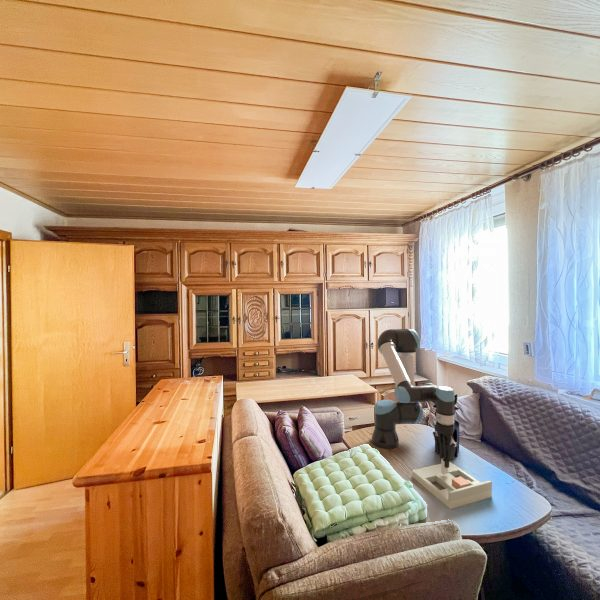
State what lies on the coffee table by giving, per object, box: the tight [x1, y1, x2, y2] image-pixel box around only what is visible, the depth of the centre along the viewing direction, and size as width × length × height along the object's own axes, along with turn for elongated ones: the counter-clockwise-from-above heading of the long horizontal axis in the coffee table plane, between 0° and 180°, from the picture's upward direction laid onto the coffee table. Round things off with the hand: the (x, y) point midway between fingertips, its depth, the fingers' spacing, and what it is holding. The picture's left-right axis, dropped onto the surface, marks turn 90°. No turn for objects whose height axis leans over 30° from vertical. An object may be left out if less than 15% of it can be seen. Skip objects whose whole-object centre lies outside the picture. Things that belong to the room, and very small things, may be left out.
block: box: [452, 476, 470, 489], centre depth 132 cm, size 5×5×3 cm
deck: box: [411, 461, 493, 510], centre depth 138 cm, size 23×22×6 cm
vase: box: [432, 386, 460, 458], centre depth 168 cm, size 14×12×35 cm
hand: (444, 472), depth 141 cm, fingers closed
